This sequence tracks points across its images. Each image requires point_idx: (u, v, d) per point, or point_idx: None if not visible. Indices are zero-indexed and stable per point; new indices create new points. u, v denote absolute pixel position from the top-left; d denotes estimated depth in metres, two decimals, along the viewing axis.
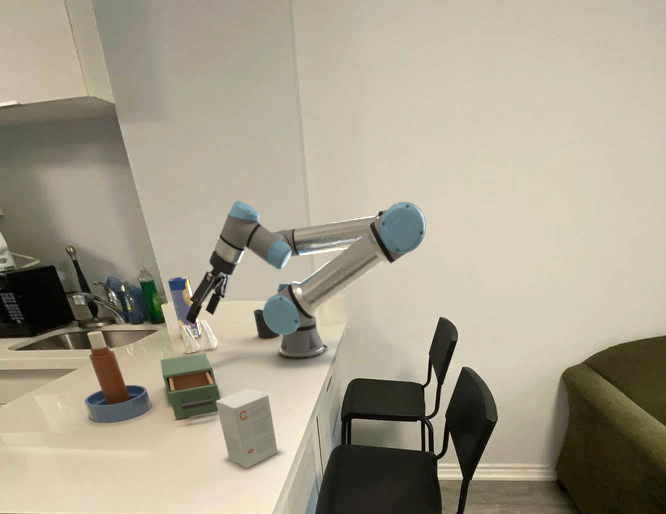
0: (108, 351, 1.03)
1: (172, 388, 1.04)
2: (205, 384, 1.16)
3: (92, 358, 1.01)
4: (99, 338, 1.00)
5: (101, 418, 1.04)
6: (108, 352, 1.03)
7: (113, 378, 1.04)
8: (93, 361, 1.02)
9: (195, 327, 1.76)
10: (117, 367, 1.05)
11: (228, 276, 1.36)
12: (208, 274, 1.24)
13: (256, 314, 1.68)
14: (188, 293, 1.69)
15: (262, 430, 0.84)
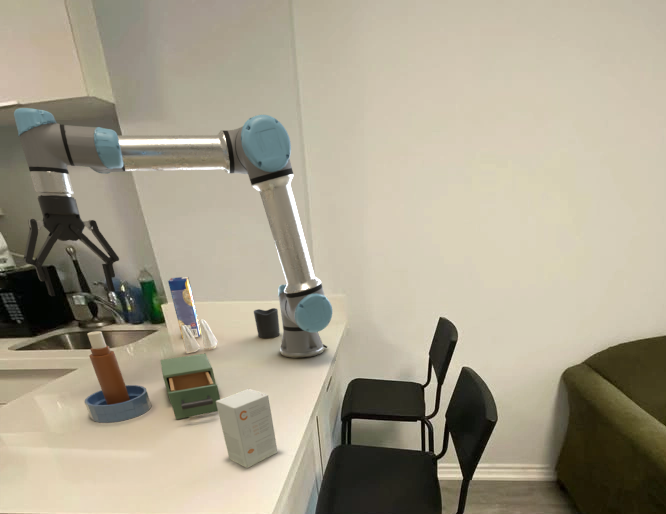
0: (108, 351, 1.03)
1: (172, 388, 1.04)
2: (205, 384, 1.16)
3: (92, 358, 1.01)
4: (99, 338, 1.00)
5: (101, 418, 1.04)
6: (108, 352, 1.03)
7: (113, 378, 1.04)
8: (93, 361, 1.02)
9: (195, 327, 1.76)
10: (117, 367, 1.05)
11: (93, 228, 1.05)
12: (28, 220, 0.97)
13: (256, 314, 1.68)
14: (188, 293, 1.69)
15: (262, 430, 0.84)
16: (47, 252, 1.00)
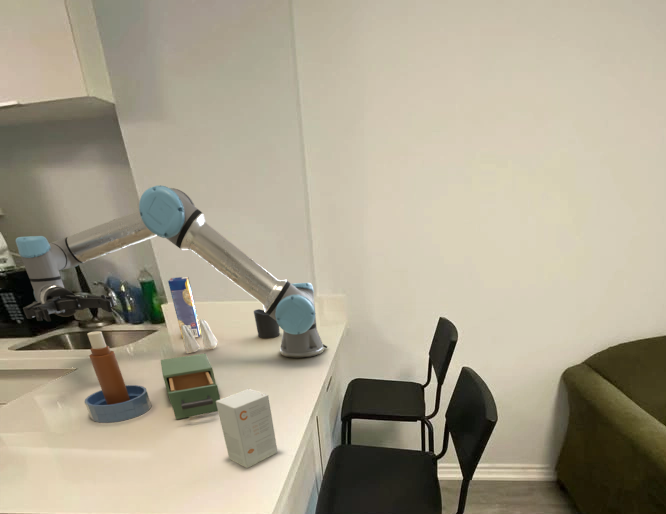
0: (108, 351, 1.03)
1: (172, 388, 1.04)
2: (205, 384, 1.16)
3: (92, 358, 1.01)
4: (99, 338, 1.00)
5: (101, 418, 1.04)
6: (108, 352, 1.03)
7: (113, 378, 1.04)
8: (93, 361, 1.02)
9: (195, 327, 1.76)
10: (117, 367, 1.05)
11: (87, 296, 1.17)
12: None
13: (256, 314, 1.68)
14: (188, 293, 1.69)
15: (262, 430, 0.84)
16: (44, 304, 1.07)
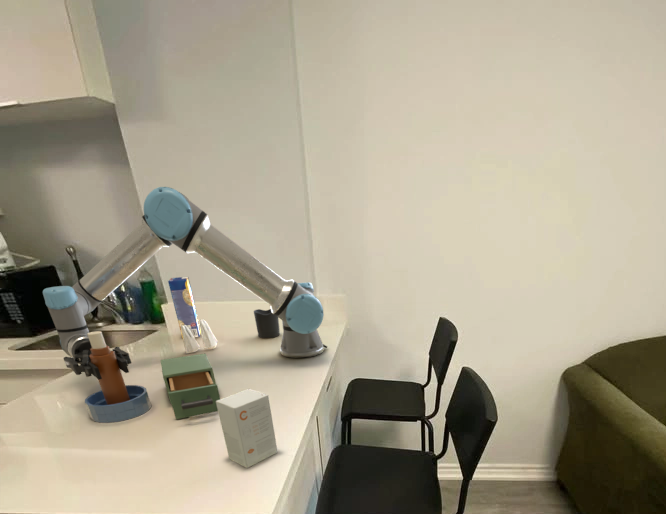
0: (108, 351, 1.03)
1: (172, 388, 1.04)
2: (205, 384, 1.16)
3: (92, 358, 1.01)
4: (99, 338, 1.00)
5: (101, 418, 1.04)
6: (108, 352, 1.03)
7: (113, 378, 1.04)
8: (93, 361, 1.02)
9: (195, 327, 1.76)
10: (117, 367, 1.05)
11: (114, 348, 1.14)
12: None
13: (256, 314, 1.68)
14: (188, 293, 1.69)
15: (262, 430, 0.84)
16: (86, 359, 1.06)
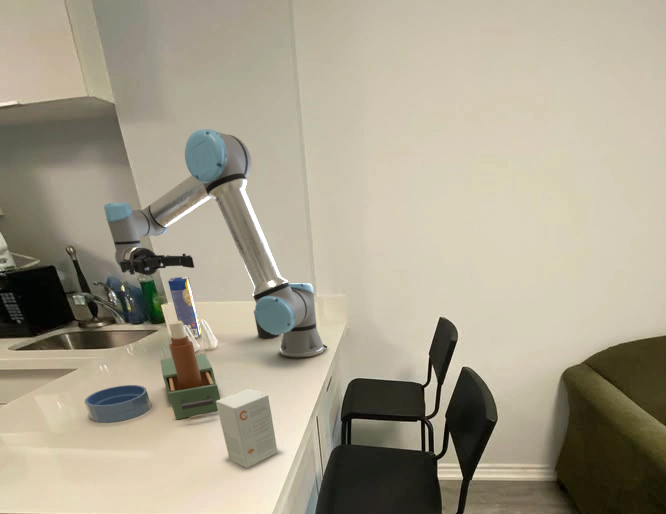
0: (188, 341, 1.03)
1: (172, 388, 1.04)
2: (205, 384, 1.16)
3: (173, 347, 1.01)
4: (180, 327, 1.01)
5: (101, 418, 1.04)
6: (188, 342, 1.03)
7: (191, 368, 1.04)
8: (173, 351, 1.02)
9: (195, 327, 1.76)
10: (195, 357, 1.05)
11: (168, 256, 1.29)
12: None
13: None
14: (188, 293, 1.69)
15: (262, 430, 0.84)
16: (135, 260, 1.20)
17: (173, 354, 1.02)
